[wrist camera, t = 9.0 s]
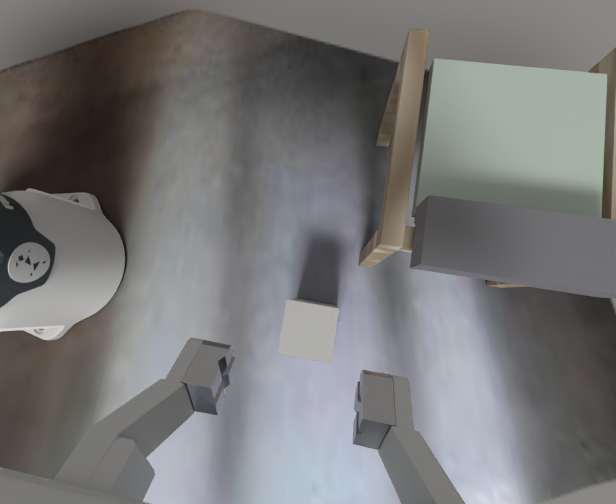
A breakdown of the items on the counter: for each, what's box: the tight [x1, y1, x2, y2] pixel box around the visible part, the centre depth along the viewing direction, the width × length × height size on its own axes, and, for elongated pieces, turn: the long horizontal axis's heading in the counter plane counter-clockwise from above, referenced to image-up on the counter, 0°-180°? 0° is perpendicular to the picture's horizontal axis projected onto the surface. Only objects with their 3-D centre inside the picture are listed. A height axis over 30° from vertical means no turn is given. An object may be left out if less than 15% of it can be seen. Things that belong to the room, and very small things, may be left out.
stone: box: [277, 298, 340, 364], centre depth 32 cm, size 5×5×8 cm
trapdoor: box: [410, 58, 616, 298], centre depth 20 cm, size 12×16×4 cm
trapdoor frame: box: [359, 29, 616, 288], centre depth 29 cm, size 16×17×16 cm
